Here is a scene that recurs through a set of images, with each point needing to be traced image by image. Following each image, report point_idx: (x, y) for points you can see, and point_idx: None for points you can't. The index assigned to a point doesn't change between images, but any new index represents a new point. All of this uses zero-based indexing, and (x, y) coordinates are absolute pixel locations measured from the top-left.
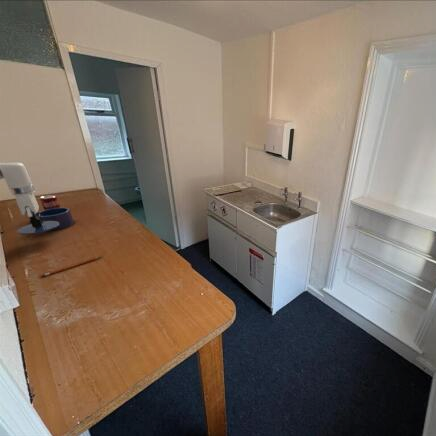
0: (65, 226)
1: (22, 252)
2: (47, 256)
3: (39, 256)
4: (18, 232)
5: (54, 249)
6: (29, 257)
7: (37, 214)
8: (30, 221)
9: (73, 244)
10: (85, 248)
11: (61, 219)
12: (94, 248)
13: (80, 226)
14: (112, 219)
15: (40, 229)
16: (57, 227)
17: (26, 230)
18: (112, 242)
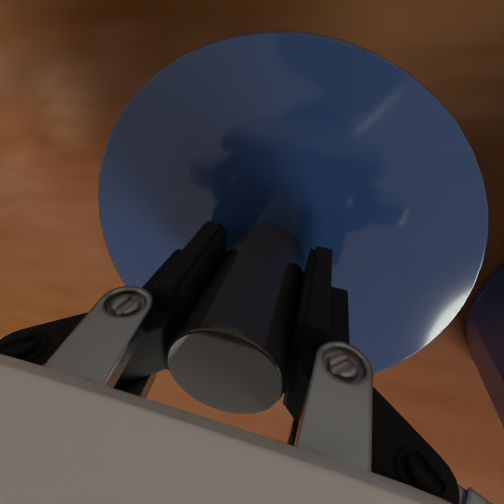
0: (468, 342)
1: (141, 35)
2: (17, 168)
3: (30, 133)
4: (201, 47)
5: (96, 209)
6: (35, 80)
7: (292, 431)
8: (166, 271)
9: (120, 285)
10: (51, 302)
11: (499, 401)
12: (38, 321)
13: (394, 382)
14: None
15: (163, 253)
16: (481, 309)
17: (220, 141)
18: None
